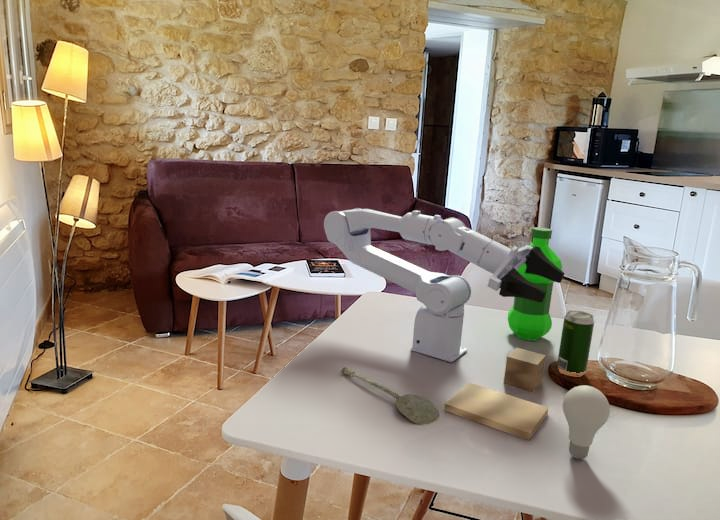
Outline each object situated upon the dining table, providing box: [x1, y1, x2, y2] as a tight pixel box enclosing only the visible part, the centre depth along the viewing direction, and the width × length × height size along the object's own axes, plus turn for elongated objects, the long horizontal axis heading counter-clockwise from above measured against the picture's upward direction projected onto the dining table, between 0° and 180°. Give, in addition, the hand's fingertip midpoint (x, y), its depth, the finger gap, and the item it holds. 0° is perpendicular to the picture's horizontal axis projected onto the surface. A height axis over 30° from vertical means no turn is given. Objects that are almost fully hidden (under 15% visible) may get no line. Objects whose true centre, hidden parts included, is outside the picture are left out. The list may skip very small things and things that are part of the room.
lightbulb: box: [562, 384, 611, 460], centre depth 77 cm, size 6×6×11 cm
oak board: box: [443, 382, 549, 441], centre depth 90 cm, size 14×10×1 cm
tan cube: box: [503, 347, 547, 394], centre depth 100 cm, size 6×6×6 cm
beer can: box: [556, 309, 595, 373], centre depth 105 cm, size 5×5×12 cm
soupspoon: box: [339, 366, 440, 426], centre depth 93 cm, size 22×3×7 cm
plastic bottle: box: [507, 226, 563, 341], centre depth 122 cm, size 10×10×25 cm
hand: (553, 287), depth 97 cm, fingers open, 7 cm apart
